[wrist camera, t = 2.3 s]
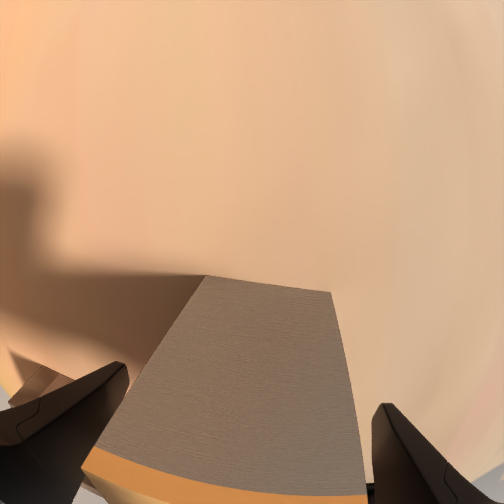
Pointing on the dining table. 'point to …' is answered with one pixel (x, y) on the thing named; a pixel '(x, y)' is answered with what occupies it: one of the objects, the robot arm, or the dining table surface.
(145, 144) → the dining table surface
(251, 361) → the steel peg
